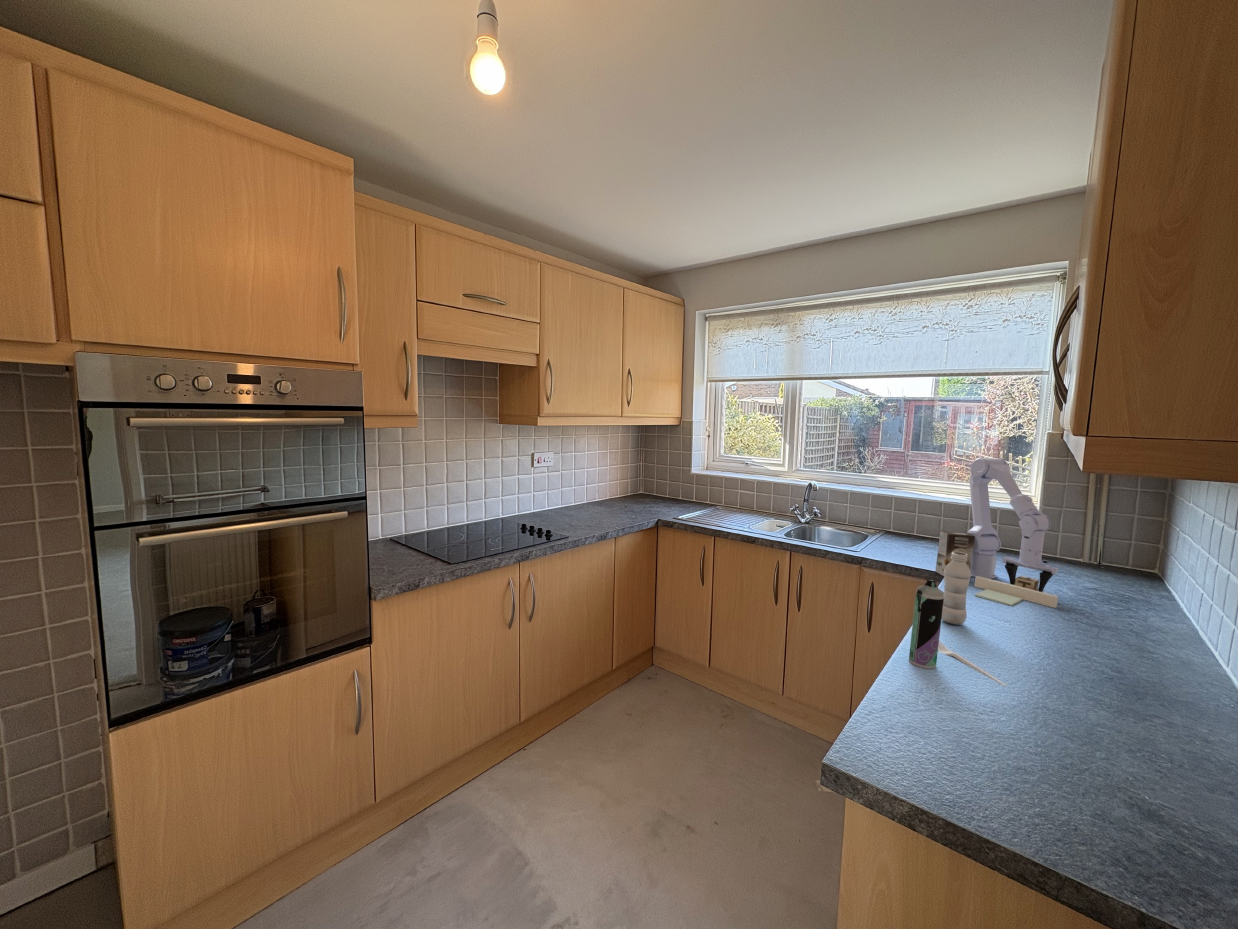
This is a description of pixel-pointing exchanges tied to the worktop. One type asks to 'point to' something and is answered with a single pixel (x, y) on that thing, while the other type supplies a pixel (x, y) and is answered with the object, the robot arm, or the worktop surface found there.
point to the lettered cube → (1027, 583)
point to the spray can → (926, 625)
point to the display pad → (998, 597)
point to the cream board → (1017, 591)
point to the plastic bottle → (956, 589)
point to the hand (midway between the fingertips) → (1026, 589)
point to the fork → (965, 661)
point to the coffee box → (953, 548)
